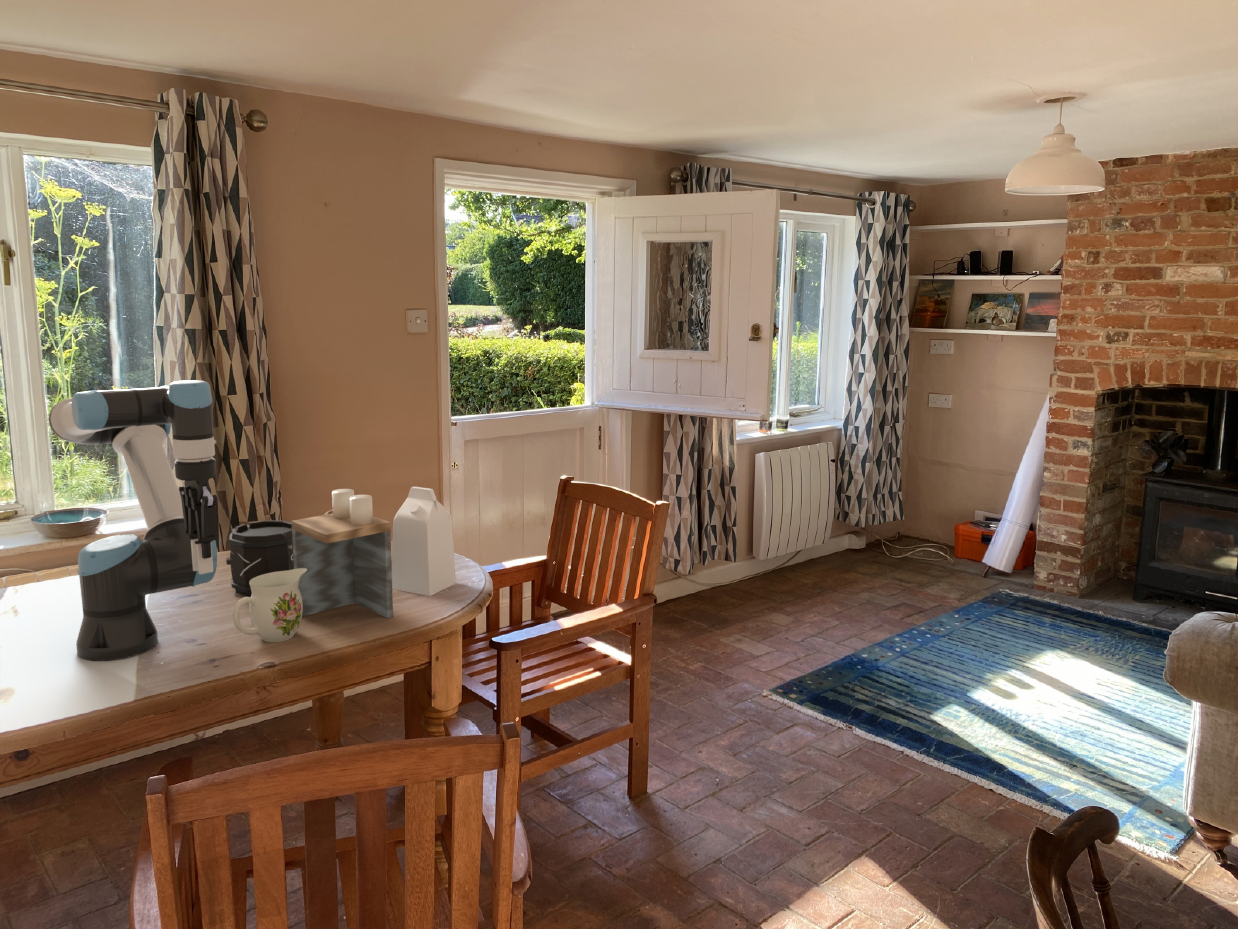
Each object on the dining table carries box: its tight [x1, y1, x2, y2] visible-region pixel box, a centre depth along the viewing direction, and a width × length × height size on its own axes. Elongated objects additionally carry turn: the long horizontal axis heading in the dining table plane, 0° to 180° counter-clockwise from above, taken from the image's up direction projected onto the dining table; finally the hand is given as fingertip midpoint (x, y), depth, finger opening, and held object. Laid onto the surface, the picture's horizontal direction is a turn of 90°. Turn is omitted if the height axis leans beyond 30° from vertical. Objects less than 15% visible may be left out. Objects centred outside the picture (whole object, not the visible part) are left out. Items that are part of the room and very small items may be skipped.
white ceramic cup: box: [349, 494, 374, 525], centre depth 208 cm, size 5×5×6 cm
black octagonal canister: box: [225, 519, 294, 597], centre depth 231 cm, size 18×18×16 cm
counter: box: [291, 513, 394, 619], centre depth 211 cm, size 16×16×23 cm
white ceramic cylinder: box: [331, 488, 355, 519], centre depth 213 cm, size 5×5×6 cm
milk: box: [391, 486, 457, 597], centre depth 234 cm, size 12×12×26 cm
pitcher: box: [232, 568, 307, 643], centre depth 199 cm, size 11×18×14 cm, turn 144°
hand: (203, 570), depth 186 cm, fingers open, 2 cm apart
